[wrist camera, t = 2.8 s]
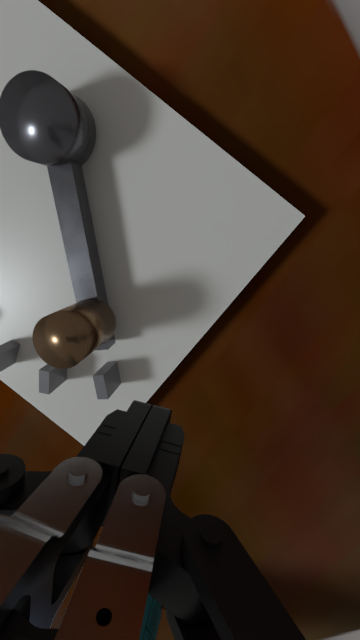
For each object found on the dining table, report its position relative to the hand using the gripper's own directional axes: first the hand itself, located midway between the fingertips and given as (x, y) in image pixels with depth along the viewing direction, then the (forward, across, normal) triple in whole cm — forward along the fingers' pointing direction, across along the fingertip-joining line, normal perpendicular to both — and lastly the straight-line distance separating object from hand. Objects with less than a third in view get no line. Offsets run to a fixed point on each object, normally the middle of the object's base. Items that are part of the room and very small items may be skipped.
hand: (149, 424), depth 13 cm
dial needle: (+11, +9, -6) cm, 15 cm away
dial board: (+13, +14, -5) cm, 19 cm away
